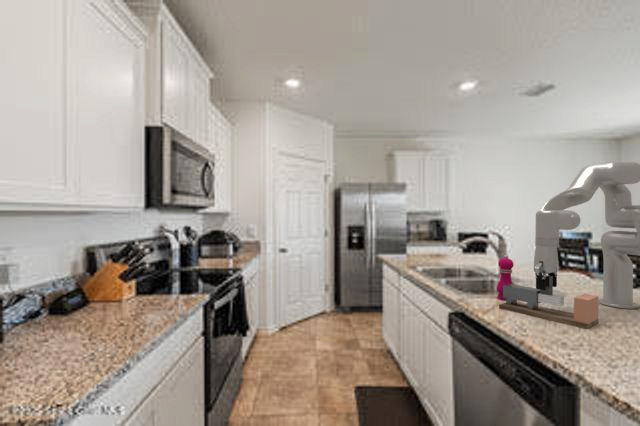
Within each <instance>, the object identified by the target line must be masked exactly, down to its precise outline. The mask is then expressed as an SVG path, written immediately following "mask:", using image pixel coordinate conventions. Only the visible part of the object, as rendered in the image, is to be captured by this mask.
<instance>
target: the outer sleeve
mask: <svg viewBox="0 0 640 426" xmlns="http://www.w3.org/2000/svg"><path fill="white" fill-rule="evenodd" d="M537 292H540V289H536V287H535V288H534V287H529V286H525V285H523V286H522V285H517V284H514V283H513V284H507V285H503V297H504V298H506V300H505V303H506V304H508V305H513V304H517V302H522V303H526V304H527V309H530V310H534V309H537V308H538V306H539V304H542V302H537Z"/></svg>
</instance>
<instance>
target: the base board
mask: <svg viewBox="0 0 640 426" xmlns="http://www.w3.org/2000/svg"><path fill="white" fill-rule="evenodd" d="M498 306H499V307H498V309H502V310H506V311H510V312H514V313H517V314H522V315H527V316H531V317H535V318H540V319H544V320H548V321H552V322H556V323H561V324H564V325H569V326H573V327H577V328H582V329H590V328H592V327H593V326H596V325H598V324H599V320H600V319H599V318H598V319H597V320H595V321H593V322H591V323H589V324H585V323H580V322H576V321H574V312H573V313H572V312H569V311H565V310H564V311H562V310H558V309H554V308H550V307H544V306H540V305H538V308H537V309H534V310H530V309H527V302H522V301H517V304H513V305H508V304H506V302H503V303H501V304H499V305H498Z"/></svg>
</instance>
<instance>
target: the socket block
mask: <svg viewBox="0 0 640 426" xmlns="http://www.w3.org/2000/svg"><path fill="white" fill-rule="evenodd" d="M573 298H574V301H573V313H574V321H576V322H580V323H585V324H589V323H591V322H593V321H595V320H597V319H599V302H598V300H599V296H598V295H593V294H588V293H584V294H582V295H578V296H576V297H575V296H574V297H573Z"/></svg>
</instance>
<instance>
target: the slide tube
mask: <svg viewBox="0 0 640 426" xmlns="http://www.w3.org/2000/svg"><path fill="white" fill-rule="evenodd" d="M545 279H546V290H540V292H537V302H541V304H542V303H543V304H548V305H552V306H557V307H558V306H559V307H562V306H564V305H565V296H564V295H558V294H555V293H553V289H554V287H553V276H549V275H548V274H546V277H545Z"/></svg>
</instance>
